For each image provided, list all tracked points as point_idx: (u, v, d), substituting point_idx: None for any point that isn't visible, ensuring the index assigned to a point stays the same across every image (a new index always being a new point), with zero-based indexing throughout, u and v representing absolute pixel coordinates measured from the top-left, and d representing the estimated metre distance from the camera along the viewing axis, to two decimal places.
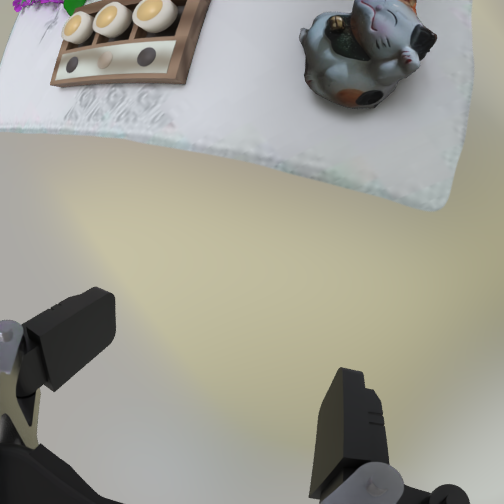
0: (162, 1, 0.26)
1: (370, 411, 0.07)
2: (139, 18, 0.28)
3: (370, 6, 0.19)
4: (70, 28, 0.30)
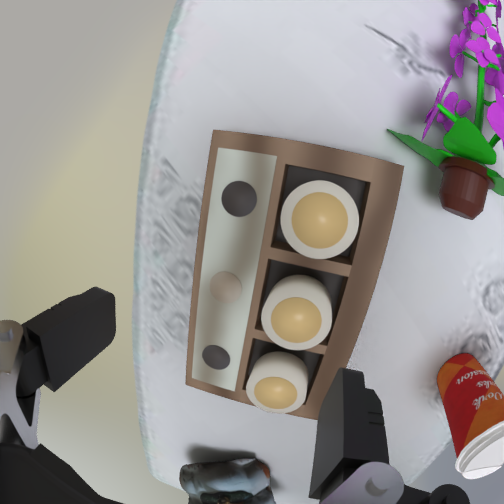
0: (282, 408, 0.25)
1: (370, 411, 0.07)
2: (261, 381, 0.25)
3: None
4: (311, 215, 0.20)
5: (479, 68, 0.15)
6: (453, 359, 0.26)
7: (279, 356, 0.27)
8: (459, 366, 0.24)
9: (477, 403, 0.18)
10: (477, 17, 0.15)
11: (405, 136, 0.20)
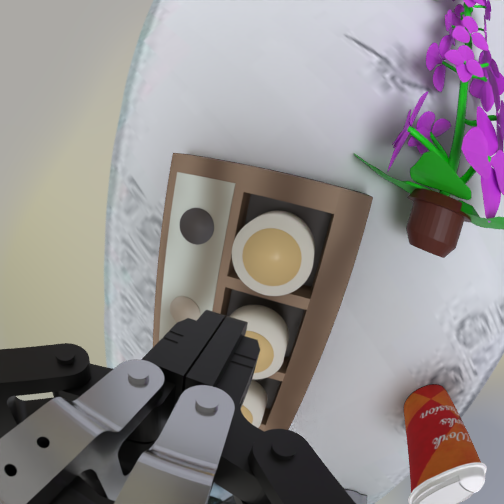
0: None
1: (244, 355, 0.08)
2: None
3: None
4: (262, 252, 0.20)
5: (461, 81, 0.15)
6: (421, 390, 0.26)
7: None
8: (426, 399, 0.24)
9: (436, 443, 0.18)
10: None
11: (369, 165, 0.19)
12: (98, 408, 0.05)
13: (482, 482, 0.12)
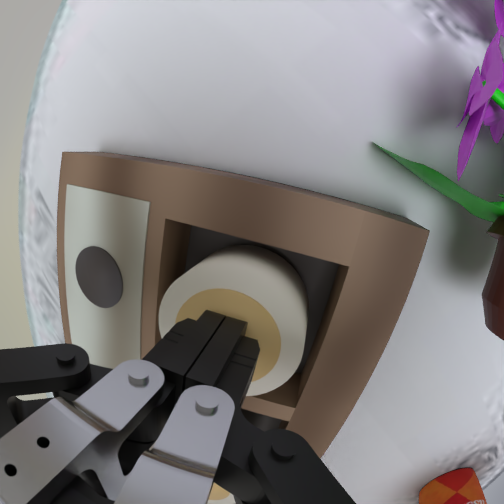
0: None
1: (244, 355, 0.08)
2: None
3: None
4: None
5: None
6: (445, 478, 0.14)
7: None
8: (450, 492, 0.13)
9: None
10: None
11: (416, 165, 0.08)
12: (98, 408, 0.05)
13: None
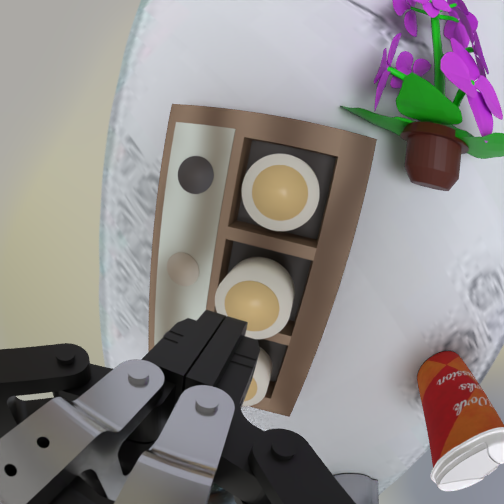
0: None
1: (244, 355, 0.08)
2: None
3: None
4: (271, 187, 0.21)
5: (432, 21, 0.14)
6: (435, 357, 0.25)
7: None
8: (441, 365, 0.23)
9: (458, 408, 0.17)
10: None
11: (356, 109, 0.18)
12: (98, 408, 0.05)
13: None
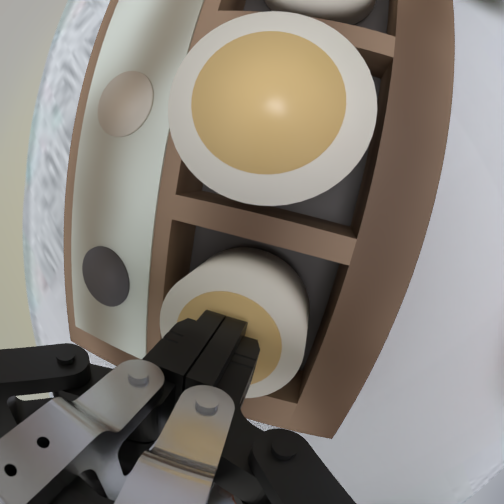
0: None
1: (244, 355, 0.08)
2: (191, 305, 0.10)
3: None
4: None
5: None
6: None
7: (241, 252, 0.12)
8: None
9: None
10: None
11: None
12: (98, 408, 0.05)
13: None
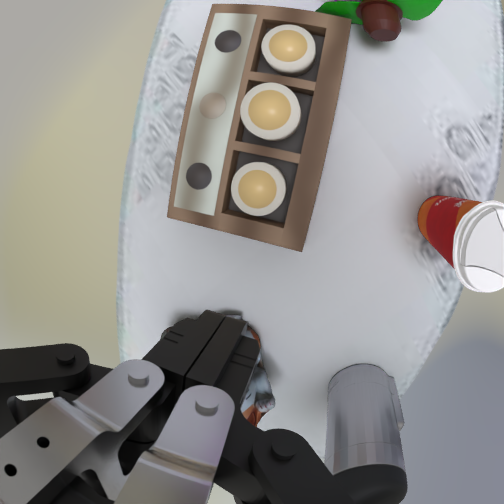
0: (263, 207, 0.31)
1: (244, 355, 0.08)
2: (245, 176, 0.30)
3: None
4: (282, 42, 0.25)
5: None
6: (430, 198, 0.29)
7: None
8: (436, 198, 0.27)
9: (458, 204, 0.21)
10: None
11: (324, 5, 0.23)
12: (98, 408, 0.05)
13: None
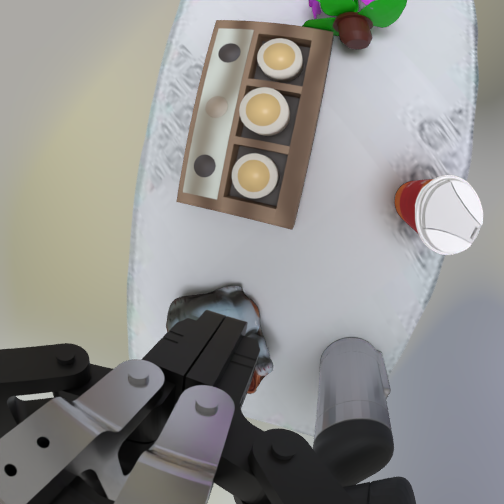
0: (258, 191, 0.36)
1: (244, 355, 0.08)
2: (243, 165, 0.36)
3: None
4: (274, 53, 0.31)
5: None
6: (405, 183, 0.34)
7: None
8: (409, 182, 0.33)
9: (423, 182, 0.27)
10: None
11: (306, 23, 0.29)
12: (98, 408, 0.05)
13: (479, 203, 0.21)
